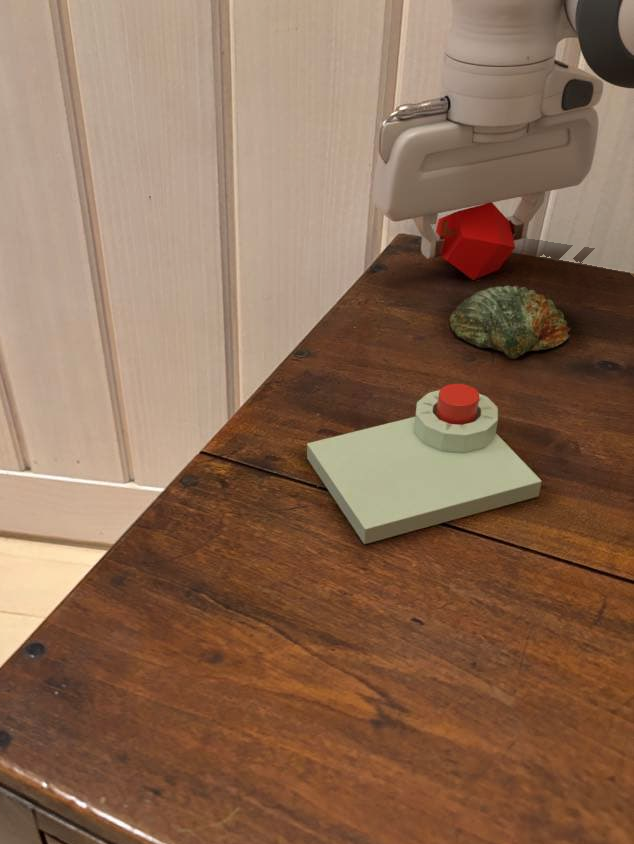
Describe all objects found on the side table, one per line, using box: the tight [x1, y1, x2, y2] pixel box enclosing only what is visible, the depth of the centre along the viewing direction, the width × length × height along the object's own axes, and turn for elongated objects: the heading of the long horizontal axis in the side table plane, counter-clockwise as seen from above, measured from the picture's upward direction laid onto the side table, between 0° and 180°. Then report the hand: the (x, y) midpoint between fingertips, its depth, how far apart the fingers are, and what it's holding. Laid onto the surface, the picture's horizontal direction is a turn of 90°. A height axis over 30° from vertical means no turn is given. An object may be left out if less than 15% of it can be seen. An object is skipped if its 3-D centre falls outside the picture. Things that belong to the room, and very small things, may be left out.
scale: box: [306, 389, 543, 545], centre depth 64 cm, size 13×10×3 cm
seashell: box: [449, 285, 571, 360], centre depth 78 cm, size 10×4×10 cm
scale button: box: [436, 383, 480, 425], centre depth 65 cm, size 3×3×2 cm
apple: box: [435, 202, 516, 281], centre depth 86 cm, size 7×7×8 cm
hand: (473, 246), depth 86 cm, fingers closed on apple, 7 cm apart
